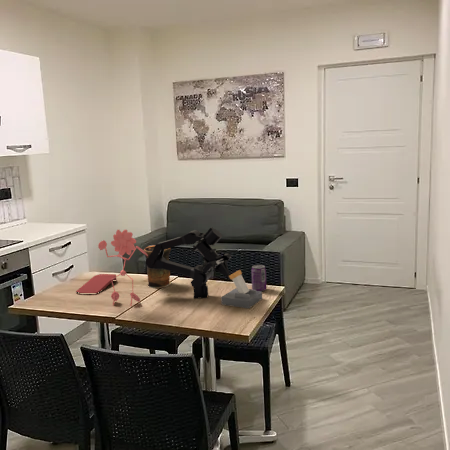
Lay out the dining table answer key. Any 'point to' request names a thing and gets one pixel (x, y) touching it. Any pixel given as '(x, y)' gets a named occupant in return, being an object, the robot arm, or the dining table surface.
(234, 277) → the lever
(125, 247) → the figurine
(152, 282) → the vessel
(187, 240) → the robot arm
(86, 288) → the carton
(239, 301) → the box
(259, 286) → the beverage can
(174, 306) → the dining table surface
